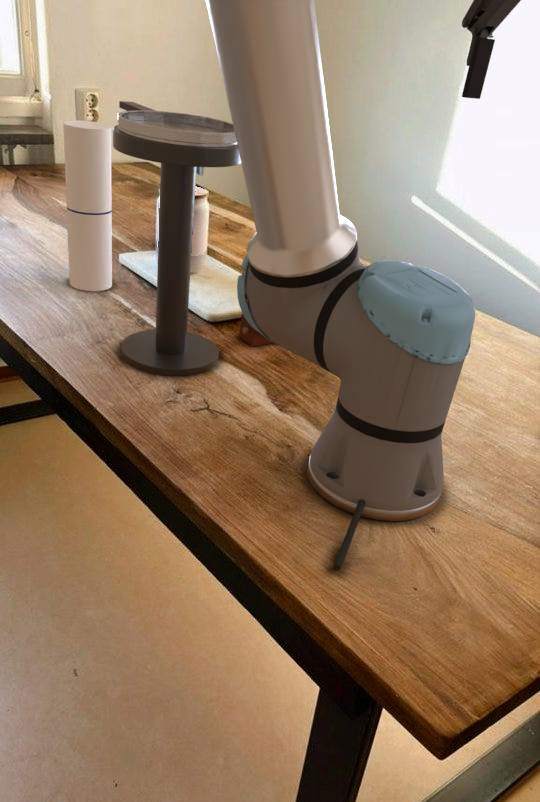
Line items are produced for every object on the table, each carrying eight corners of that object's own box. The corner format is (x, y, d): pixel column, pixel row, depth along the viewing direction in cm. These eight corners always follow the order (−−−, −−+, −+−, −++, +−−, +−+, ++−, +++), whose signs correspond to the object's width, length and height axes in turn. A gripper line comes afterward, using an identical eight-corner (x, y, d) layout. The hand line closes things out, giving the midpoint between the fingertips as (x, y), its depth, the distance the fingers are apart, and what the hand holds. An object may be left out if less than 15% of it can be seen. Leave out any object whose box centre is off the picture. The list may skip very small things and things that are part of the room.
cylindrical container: (70, 290, 116) (64, 126, 103) (68, 276, 122) (62, 118, 108) (113, 291, 119) (113, 130, 105) (110, 277, 124) (109, 123, 110)
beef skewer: (356, 319, 122) (360, 298, 120) (370, 327, 119) (374, 306, 117) (236, 337, 109) (238, 314, 106) (249, 347, 106) (251, 323, 104)
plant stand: (169, 310, 114) (178, 103, 97) (246, 368, 100) (272, 136, 83) (76, 322, 106) (68, 97, 89) (145, 387, 91) (150, 132, 74)
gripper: (709, -117, 67) (620, 127, 78) (506, -109, 83) (457, 92, 94) (670, -135, 63) (582, 125, 74) (464, -123, 79) (419, 89, 90)
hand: (512, 107), depth 84 cm, fingers open, 13 cm apart
